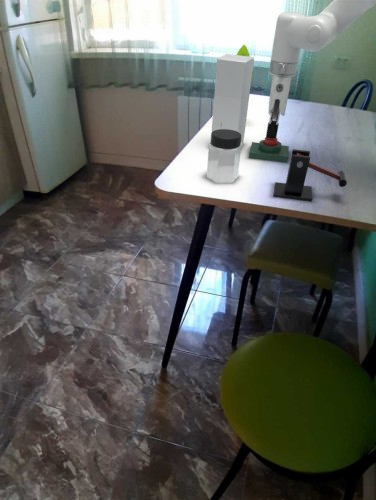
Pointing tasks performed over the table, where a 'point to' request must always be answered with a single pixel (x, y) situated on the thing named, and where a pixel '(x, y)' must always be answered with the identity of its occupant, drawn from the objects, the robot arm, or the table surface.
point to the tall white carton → (232, 93)
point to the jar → (224, 156)
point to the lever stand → (295, 179)
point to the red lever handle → (329, 173)
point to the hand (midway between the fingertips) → (271, 137)
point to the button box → (269, 152)
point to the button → (270, 141)
